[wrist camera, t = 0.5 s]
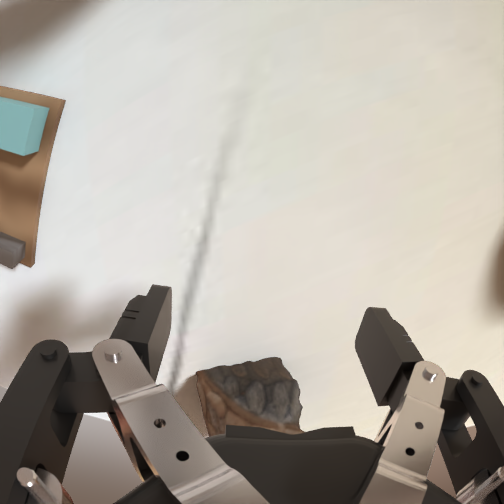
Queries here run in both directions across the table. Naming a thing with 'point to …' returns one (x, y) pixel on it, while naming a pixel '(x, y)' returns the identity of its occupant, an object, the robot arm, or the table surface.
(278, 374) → the brown grey rock
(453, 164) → the table surface
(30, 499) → the robot arm
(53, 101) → the vise bed
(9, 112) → the sliding jaw
